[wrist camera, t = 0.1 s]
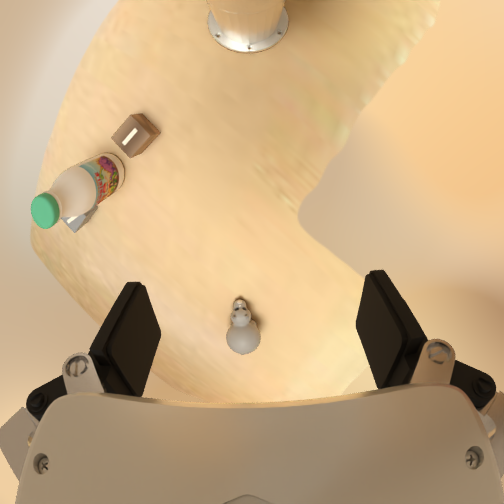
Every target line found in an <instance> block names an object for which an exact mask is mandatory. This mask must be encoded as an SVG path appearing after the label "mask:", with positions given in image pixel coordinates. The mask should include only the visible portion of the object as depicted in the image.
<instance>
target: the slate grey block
mask: <svg viewBox="0 0 504 504" xmlns="http://www.w3.org/2000/svg"><path fill="white" fill-rule="evenodd" d="M97 208H98V206H97V205H96V206H95V207H93V208H92V209H90V210H89V211H87V212H86V213H84V214H82V215H79V216H76V217H62V218H61V219H62V220H63V221H64V222H65V223H66V224H67V226H68V227H69V228H70V229H71V230H72V231H73V232H74V233H75V232H77V231H78V230H79V229H80V228H81V227H82V226H83V225H85V224H86V223H87V222H88V220H89V219H90V217H91V216H92V215H93V213H94V212H95V211H96V209H97Z"/></svg>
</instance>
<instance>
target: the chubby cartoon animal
mask: <svg viewBox="0 0 504 504" xmlns="http://www.w3.org/2000/svg"><path fill="white" fill-rule="evenodd" d="M231 320H232V323H231V326H230V328H229V329H228V331H227V335H226V339H227V343H228V345H229V347H230V348H231V349H232V350H233V351H234V352H236V353H239V354H241V355H244V354H248V353H251V352H253V351H254V350H255V349H256V348H257V347H258V346H259V343H260V340H261V336H260V332H259V329H258V328H257V324H256V322H255V321H254V320H251V313H250V311H249V310H248V309H247V307H246V303H245V301H243V300H240V299H239V300H237V301H235V302H234V304H233V311H232V313H231Z"/></svg>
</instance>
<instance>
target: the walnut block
mask: <svg viewBox="0 0 504 504" xmlns="http://www.w3.org/2000/svg"><path fill="white" fill-rule="evenodd" d="M159 134H160V132H159V131H158V130H157V129H156V127H155V126H154V125H153V124H152V123H151V122H150V121H149V120H148V119H147V118H146V117H145V116H144V115H143V114H134V115H130V116H129V117H128V118H127V119H126V120H125V122H124V123H123V124H122V125H121V126H120V127H119V129H118V130H117V131H116V132H115V133H114V135H113V136H112V137H111V138H112V140H113V141H114V142H115V143H116V144H117V145H118V146H119V147H120V148H121V149H122V150H123V151H124V152H125V153H126V154H127V156H128V157H129V158H132V157H134V156H136V155H138V154H141V153H142V152H143V151H144V150H145V149H146V148H147V147H148V146H149V145H150V143H151V142H152V141H153V140H154V139H155V138H156V137H157V136H158V135H159Z"/></svg>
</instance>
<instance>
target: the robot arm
mask: <svg viewBox="0 0 504 504" xmlns="http://www.w3.org/2000/svg"><path fill="white" fill-rule="evenodd" d="M206 1H207V3H208V5H209V7H210V9H211V10H210V12H209V15H208V28H209V31H210V33H211V35H212V36H213V38H214V39H215V40H216V41H217V42H218V43H219V44H220V45H222V46H223V47H225V48H227V49H229V50H232V51H235V52H240V53H255V52H261V51H264V50H267V49H269V48H271V47H273V46H274V45H275V44H277V43H278V42H279V41H280V40H281V39H282V38H283V36H284V34H285V33H286V30H287V28H288V22H289V21H288V14H287V11H286V9H285V7H284V3H285V0H206ZM278 33H281V34H280V35H279V34H278ZM218 35H220V37H217V36H218ZM248 48H251V50H249V49H248ZM356 329H357V332H358V335H359V337H360V340H361V343H362V345H363V348H364V351H365V354H366V356H367V359H368V362H369V365H370V368H371V371H372V374H373V377H374V380H375V383H376V385H377V388H378V390H372V391H366V392H360V393H354V394H348V395H341V396H334V397H326V398H318V399H308V400H297V401H284V402H265V403H204V402H184V401H171V400H161V399H152V398H142V397H141V396H142V395H143V392H144V388H145V385H146V381H147V378H148V375H149V372H150V369H151V366H152V362H153V359H154V356H155V353H156V350H157V347H158V344H159V341H160V338H161V330H160V327H159V324H158V322H157V319H156V316H155V313H154V311H153V308H152V305H151V302H150V299H149V296H148V293H147V290H146V287H145V286H144V285H142V284H141V283H140V282H127V283H126V285H125V286H124V288H123V290H122V291H121V293H120V295H119V296H118V298H117V300H116V301H115V303H114V305H113V307H112V308H111V310H110V312H109V314H108V315H107V317H106V319H105V321H104V323H103V324H102V326H101V328H100V330H99V332H98V334H97V335H96V337H95V339H94V341H93V343H92V345H91V347H90V351H89V353H88V354H86V353H76V354H73V355H72V356H70V357H69V358H68V359H67V360H66V361H65V362H64V364H63V367H62V374H63V375H61V376H59V377H57V378H55V379H53V380H52V381H50V382H48V383H46V384H44V385H42V386H41V387H39V388H37V389H35V390H33V391H32V392H31V393H30V394H29V396H28V398H27V402H26V408H24V407H22V408H21V409H20V410H19V411H18V412H17V413H16V414H14V415H13V416H12V417H11V418H10V419H9V420H8V421H7V422H6V423H5V424H4V425H3V426H2V427H1V428H0V448H1V450H2V452H3V454H4V456H5V458H6V459H7V461H8V463H9V465H10V467H11V468H12V470H13V472H14V474H15V475H16V477H17V478H18V480H19V486H18V491H17V496H16V502H15V504H504V494H503V489H502V483H501V477H502V476H503V474H504V393H502V392H501V391H499V392H498V393H497V392H496V385H495V382H494V380H493V379H492V378H491V376H489V375H488V374H486V373H484V372H482V371H480V370H477V369H475V368H473V367H470V366H468V365H466V364H464V363H461V362H459V361H457V360H455V351H454V349H453V348H452V346H451V345H450V344H449V343H447V342H446V341H444V340H440V339H432V340H429V341H428V339H427V337H426V335H425V334H424V332H423V330H422V329H421V327H420V325H419V323H418V322H417V320H416V318H415V317H414V315H413V313H412V312H411V310H410V308H409V307H408V305H407V303H406V302H405V300H404V299H403V298H402V297H401V295H400V294H399V292H398V290H397V289H396V287H395V286H394V284H393V283H392V282H391V280H390V278H389V277H388V275H387V274H386V272H385V271H384V270H374V271H370V273H369V274H367V275H366V277H365V282H364V287H363V292H362V297H361V301H360V306H359V310H358V315H357V319H356Z"/></svg>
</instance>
